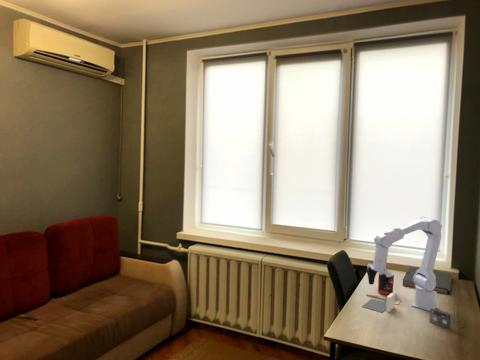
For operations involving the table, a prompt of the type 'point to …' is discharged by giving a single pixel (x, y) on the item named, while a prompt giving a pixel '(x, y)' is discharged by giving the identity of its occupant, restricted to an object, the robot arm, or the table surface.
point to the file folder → (441, 280)
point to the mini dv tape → (440, 318)
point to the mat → (375, 305)
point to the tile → (390, 302)
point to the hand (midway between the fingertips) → (376, 287)
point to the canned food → (387, 285)
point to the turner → (383, 298)
